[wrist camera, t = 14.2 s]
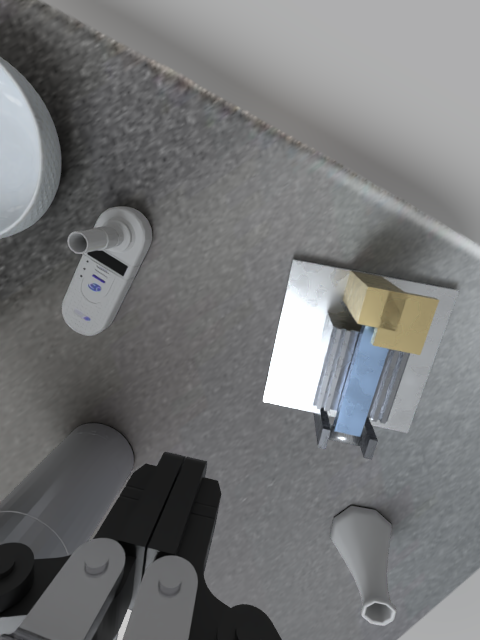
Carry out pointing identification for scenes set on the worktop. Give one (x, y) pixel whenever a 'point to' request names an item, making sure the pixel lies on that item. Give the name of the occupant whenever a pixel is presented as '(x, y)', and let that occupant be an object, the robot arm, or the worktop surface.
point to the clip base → (307, 332)
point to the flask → (366, 558)
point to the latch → (390, 312)
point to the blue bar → (358, 389)
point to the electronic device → (105, 268)
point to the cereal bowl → (25, 153)
